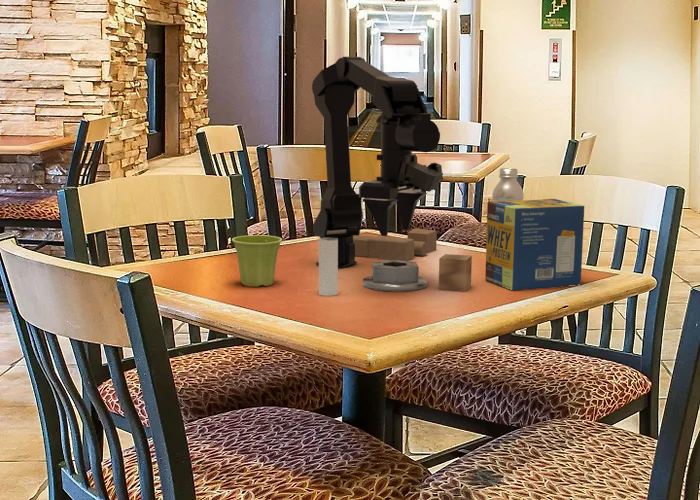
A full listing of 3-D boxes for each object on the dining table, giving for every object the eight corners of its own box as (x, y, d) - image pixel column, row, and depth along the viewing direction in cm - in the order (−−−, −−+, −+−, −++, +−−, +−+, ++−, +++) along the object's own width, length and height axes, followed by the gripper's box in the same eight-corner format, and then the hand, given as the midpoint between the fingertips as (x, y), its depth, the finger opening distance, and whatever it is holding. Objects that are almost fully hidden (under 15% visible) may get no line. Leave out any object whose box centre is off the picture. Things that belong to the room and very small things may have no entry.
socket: (364, 291, 182) (364, 270, 181) (361, 278, 193) (362, 258, 193) (429, 291, 182) (430, 270, 181) (423, 278, 194) (423, 258, 193)
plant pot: (290, 281, 191) (289, 236, 190) (270, 290, 182) (270, 243, 181) (245, 277, 194) (245, 234, 193) (224, 287, 185) (223, 241, 184)
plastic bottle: (486, 260, 214) (489, 167, 211) (517, 260, 215) (520, 167, 212) (493, 265, 208) (496, 170, 205) (525, 265, 209) (528, 170, 205)
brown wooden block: (438, 290, 183) (439, 258, 182) (444, 285, 188) (445, 254, 187) (465, 292, 182) (466, 259, 181) (470, 287, 187) (471, 255, 186)
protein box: (483, 281, 192) (486, 201, 190) (552, 276, 198) (555, 198, 195) (511, 291, 183) (513, 207, 180) (582, 285, 188) (586, 204, 186)
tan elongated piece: (314, 294, 179) (314, 239, 177) (323, 290, 182) (323, 236, 180) (333, 296, 177) (333, 241, 176) (342, 293, 180) (342, 238, 179)
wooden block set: (409, 237, 211) (335, 231, 220) (409, 263, 212) (335, 256, 221) (441, 227, 226) (370, 222, 235) (440, 251, 227) (370, 245, 236)
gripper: (414, 153, 172) (413, 243, 174) (456, 147, 188) (454, 229, 190) (357, 151, 177) (357, 238, 179) (403, 145, 193) (402, 225, 196)
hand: (395, 232), depth 186 cm, fingers open, 9 cm apart
